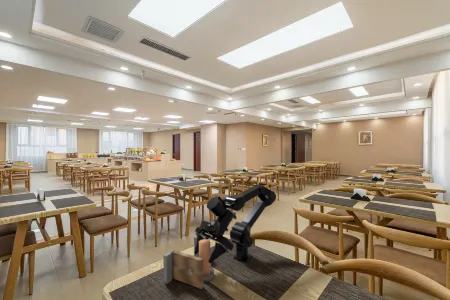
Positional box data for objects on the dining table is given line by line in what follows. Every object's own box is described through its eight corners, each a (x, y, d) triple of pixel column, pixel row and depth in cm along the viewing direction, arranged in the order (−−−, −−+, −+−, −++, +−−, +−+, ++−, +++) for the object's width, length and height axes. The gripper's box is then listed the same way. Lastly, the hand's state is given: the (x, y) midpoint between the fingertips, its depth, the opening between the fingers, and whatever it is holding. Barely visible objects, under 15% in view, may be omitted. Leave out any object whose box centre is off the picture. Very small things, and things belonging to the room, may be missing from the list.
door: (168, 278, 82) (167, 252, 82) (172, 275, 84) (172, 249, 84) (199, 290, 74) (198, 261, 74) (203, 286, 77) (203, 258, 77)
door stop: (205, 269, 88) (205, 236, 88) (218, 275, 84) (217, 241, 84) (192, 276, 83) (191, 242, 83) (204, 284, 78) (203, 247, 78)
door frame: (201, 254, 101) (201, 232, 101) (204, 255, 100) (204, 233, 100) (164, 282, 80) (163, 255, 80) (166, 284, 79) (166, 256, 79)
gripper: (197, 207, 93) (175, 240, 85) (227, 216, 79) (204, 257, 72) (212, 221, 98) (192, 253, 91) (242, 232, 84) (222, 271, 77)
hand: (201, 258), depth 82 cm, fingers open, 9 cm apart
